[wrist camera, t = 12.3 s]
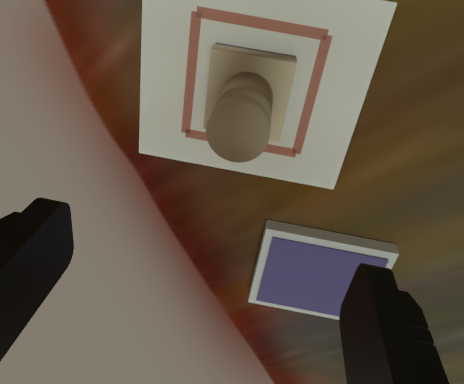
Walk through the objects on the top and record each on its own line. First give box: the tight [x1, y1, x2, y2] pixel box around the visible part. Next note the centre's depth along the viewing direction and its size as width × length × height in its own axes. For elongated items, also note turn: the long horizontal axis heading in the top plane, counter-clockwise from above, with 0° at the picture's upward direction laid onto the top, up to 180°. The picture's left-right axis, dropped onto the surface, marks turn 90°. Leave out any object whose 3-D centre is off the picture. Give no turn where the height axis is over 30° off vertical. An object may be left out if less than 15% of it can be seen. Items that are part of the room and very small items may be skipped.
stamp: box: [203, 42, 297, 163], centre depth 21 cm, size 5×5×7 cm
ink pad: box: [248, 220, 399, 320], centre depth 31 cm, size 10×8×1 cm
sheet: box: [139, 0, 397, 190], centre depth 24 cm, size 14×12×1 cm
